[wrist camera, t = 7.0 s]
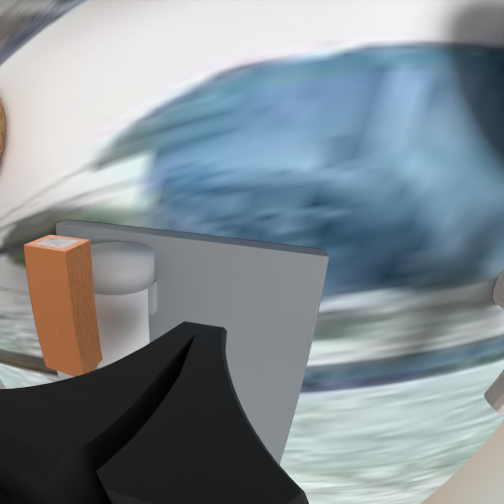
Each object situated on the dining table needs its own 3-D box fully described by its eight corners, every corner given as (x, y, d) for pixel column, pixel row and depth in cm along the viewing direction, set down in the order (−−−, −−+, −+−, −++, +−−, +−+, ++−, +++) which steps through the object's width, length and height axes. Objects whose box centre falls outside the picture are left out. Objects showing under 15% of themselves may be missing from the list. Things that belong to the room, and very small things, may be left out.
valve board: (273, 474, 20) (268, 541, 14) (103, 438, 21) (72, 492, 15) (325, 249, 15) (353, 305, 9) (68, 219, 16) (-11, 248, 10)
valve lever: (132, 464, 12) (121, 488, 11) (91, 450, 12) (77, 472, 11) (98, 240, 9) (67, 255, 7) (43, 233, 9) (11, 246, 8)
